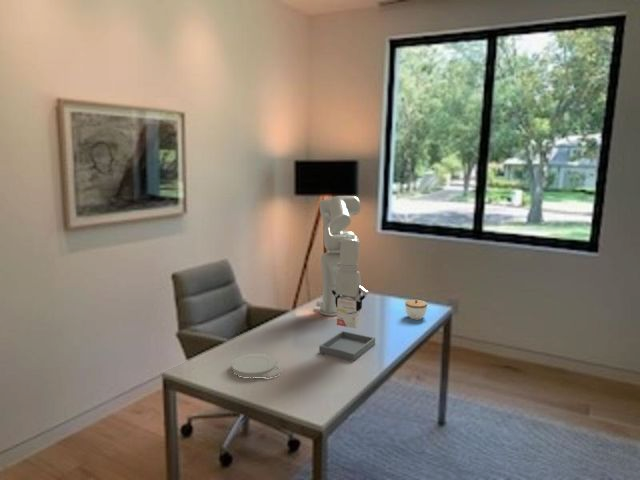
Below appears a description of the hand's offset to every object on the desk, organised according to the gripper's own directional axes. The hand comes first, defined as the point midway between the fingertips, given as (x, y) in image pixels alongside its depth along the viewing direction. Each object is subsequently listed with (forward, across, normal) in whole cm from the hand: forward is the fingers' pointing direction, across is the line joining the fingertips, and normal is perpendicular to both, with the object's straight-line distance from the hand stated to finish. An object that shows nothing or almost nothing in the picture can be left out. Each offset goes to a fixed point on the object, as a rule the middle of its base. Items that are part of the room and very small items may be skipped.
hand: (348, 308), depth 201 cm
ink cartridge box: (+8, 0, 0) cm, 8 cm away
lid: (+18, -20, -36) cm, 45 cm away
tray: (+18, 0, 0) cm, 18 cm away
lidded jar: (+18, +11, +52) cm, 56 cm away
